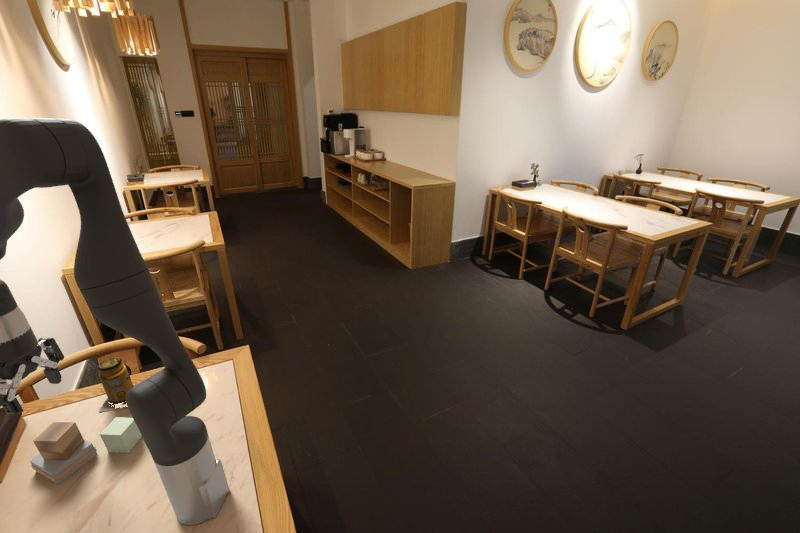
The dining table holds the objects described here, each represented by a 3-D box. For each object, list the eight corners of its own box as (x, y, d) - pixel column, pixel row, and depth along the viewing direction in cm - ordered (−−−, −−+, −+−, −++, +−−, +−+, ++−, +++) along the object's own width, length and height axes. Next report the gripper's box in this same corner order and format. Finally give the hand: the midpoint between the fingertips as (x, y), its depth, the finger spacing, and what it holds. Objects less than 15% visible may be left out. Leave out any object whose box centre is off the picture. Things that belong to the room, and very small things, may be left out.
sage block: (143, 435, 91) (135, 417, 88) (128, 453, 86) (120, 435, 84) (123, 434, 91) (115, 417, 89) (108, 452, 87) (99, 434, 84)
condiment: (141, 385, 107) (128, 352, 102) (129, 407, 99) (115, 373, 94) (112, 390, 105) (98, 356, 100) (98, 412, 97) (82, 377, 92)
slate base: (99, 454, 86) (93, 442, 85) (58, 486, 79) (51, 474, 78) (76, 443, 89) (70, 431, 87) (35, 473, 82) (28, 460, 80)
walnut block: (84, 441, 85) (75, 422, 83) (66, 460, 81) (56, 441, 78) (63, 440, 85) (53, 422, 83) (44, 460, 81) (32, 441, 78)
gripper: (-20, 357, 63) (21, 425, 70) (55, 313, 76) (83, 374, 83) (-61, 355, 63) (-16, 423, 70) (20, 312, 76) (51, 373, 83)
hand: (37, 396), depth 76 cm, fingers open, 8 cm apart
